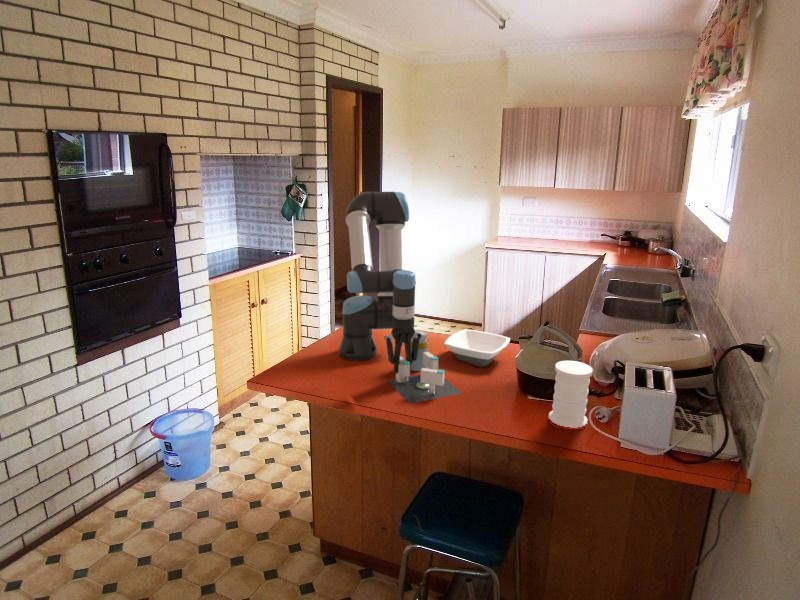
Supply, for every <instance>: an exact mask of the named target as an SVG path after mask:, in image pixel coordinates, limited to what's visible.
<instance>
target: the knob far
mask: <svg viewBox="0 0 800 600" xmlns="http://www.w3.org/2000/svg"><path fill="white" fill-rule="evenodd" d="M439 360H440V359H439V357H437V356H435V355H433V353H431V352H430V351H428V352H423V365H425V366H426V367H427V369H434V370H439Z"/></svg>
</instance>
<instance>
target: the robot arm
mask: <svg viewBox="0 0 800 600" xmlns="http://www.w3.org/2000/svg"><path fill="white" fill-rule="evenodd" d="M344 220H345V223H346V226H347V227H348V236H349V238H348V239H349V248H350V249H349V250H350V264H351V271H348V272H347V273H346V283H347V284H346V285H347V291H348V293H350V294H352V293H353V294H362V295H355V296H351V297H349V298H347V299H345V300H344V301H343V303H342V312H341V314H342V338H341V341H340V344H339V347H338V356H339V357H340V358H342V359H344V360H347V361H353V362H354V361H355V362H356V361H357V362H358V361H367V360H370V359H373V358H375V357H376V355H377V346H376V343H375V340H374V337H373V330H390V329H391V331H390V332H391V333H390V334H389V335H384V340H385V342H386V350H387V352H386V353H387V358H388V362H389V363H390V364H391V365H393V373H395V379H396V380H397V381H398V382H401V364H400V363H399V360H400V356H401V353H402V352H401V350H402V347H403V344H404V355H405V360H406V361H409V362H410V372H411V371H412V370H411V364H412V363H413V362H412V361H415V360H416V359H417V352H418V346H419V340H420V338H421V336H422V335H421V334H420V333H419V332H415V330H416V329H415V314H416V313H415V312H416V310H415V309H416V308H415V307H416V304H415V302H416V300H415V299H416V284H417V281H416V274H415V272H413V271H411V270H408V269H407V270H406V269H403V255H402V252H403V249H402V248H403V247H402V243H403V242H402V230H403V229H404V228H405V227H406V223H407V222H408V221H409V220H410V209H409V203H408V199H407V197H406V194H405V193H403V192H402V191H400V192H399V191H393V190H392V191H365V192H361V193H359V194H357V195H355V197H354V198H352V200H351V201H350V202H349V204H348V206H347V207H346V209H345V219H344ZM371 222H372V223H373V222H375V227H376V228H377V230H378V231H379V256H380V262H379V263H380V265H379V266H380V271H379V270H374V265H373V257H372V246H371V237H370V236H371V235H370V227H369V225H370V224H371ZM366 293H367V294H368V293H370V294H371V293H372V294H373V293H378V294H377V299H373V297H372V296H370V295H364V294H366ZM412 337H414V338H413V343H412V350H411V346H410V345H411V338H412ZM393 339H394V347H393ZM409 377H410V376H405V380H406V381H409Z"/></svg>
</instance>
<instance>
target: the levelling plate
mask: <svg viewBox="0 0 800 600" xmlns="http://www.w3.org/2000/svg"><path fill="white" fill-rule="evenodd" d="M420 380H421V374H418V375H412V376H411V375H410V376H409V381H406V380H405V382H404V383H400V382H398V381H397V380H396V378H395V379H394V378H393V379H389V380H386V382H387V383H388V384H389V385H390V386H391V387H392V388H393V389H394V390H395V391H396V392H397V393H398V394H399V395H400V396H401V397H402V398H403V399H404V400H405V401H406V402H407V403H408V404H413V403H418V402H419V403H420V402H424V401H429V400H435V399H440V398H445V397H450V396H455V395H461V394H463V392H462V391H461V390H460V389H459V388H458V387H456V386H454V385H453V384H452V383H451V382H450V381H448V380H447V379H446V378H445V377H444V384H443V386H440V385H435V394H429V384H427V383H421V382H420Z"/></svg>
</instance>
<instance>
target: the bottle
mask: <svg viewBox="0 0 800 600" xmlns="http://www.w3.org/2000/svg"><path fill="white" fill-rule="evenodd" d="M414 330H415V332H419V333H420V334H421V335H422V336H421V338H420V340H419V346H418V352H417V359H416V360H415V361H412V362H413V363H412V364H411V371H414V372H421V369H422V368H427V367H426V366H425V365H423V352H429V350H428V348H429V346H428V342H427V340H428V339H427V337H428V332H427V331H425V330H422V329H414ZM413 338H414V337H412V338H411V345H410V346H411V350H412V343H413Z"/></svg>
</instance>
